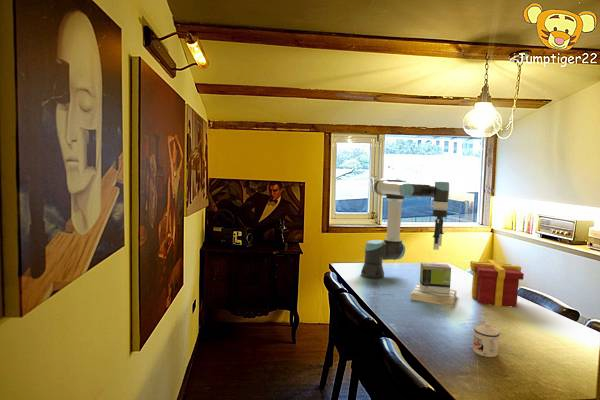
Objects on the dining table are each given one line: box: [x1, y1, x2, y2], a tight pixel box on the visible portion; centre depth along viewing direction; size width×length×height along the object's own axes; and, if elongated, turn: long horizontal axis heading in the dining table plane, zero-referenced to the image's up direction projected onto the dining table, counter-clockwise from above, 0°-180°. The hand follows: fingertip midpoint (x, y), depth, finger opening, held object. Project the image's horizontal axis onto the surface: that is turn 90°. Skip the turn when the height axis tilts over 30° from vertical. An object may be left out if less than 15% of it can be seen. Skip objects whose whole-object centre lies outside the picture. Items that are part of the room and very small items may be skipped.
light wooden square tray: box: [410, 283, 457, 307], centre depth 224 cm, size 20×22×4 cm
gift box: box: [469, 259, 524, 308], centre depth 225 cm, size 25×25×20 cm
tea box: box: [419, 262, 452, 294], centre depth 224 cm, size 15×10×15 cm, turn 80°
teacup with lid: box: [472, 322, 500, 358], centre depth 156 cm, size 12×9×12 cm
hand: (437, 247), depth 222 cm, fingers open, 13 cm apart
